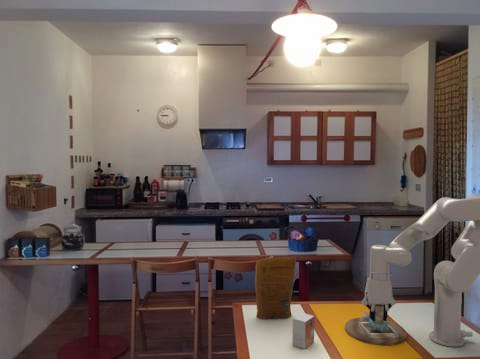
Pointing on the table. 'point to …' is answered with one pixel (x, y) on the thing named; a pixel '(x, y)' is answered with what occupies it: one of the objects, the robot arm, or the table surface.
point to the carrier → (375, 331)
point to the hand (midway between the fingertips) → (378, 319)
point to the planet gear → (378, 319)
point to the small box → (303, 330)
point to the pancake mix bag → (274, 287)
